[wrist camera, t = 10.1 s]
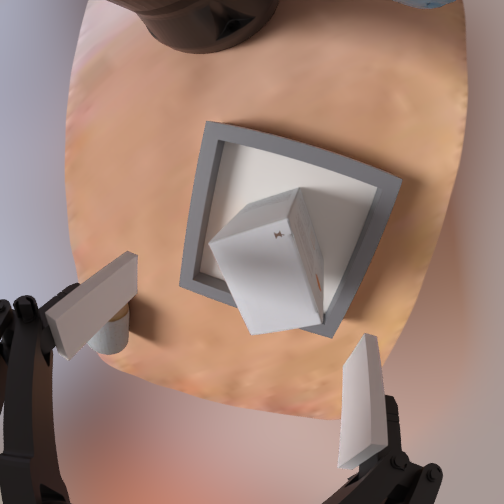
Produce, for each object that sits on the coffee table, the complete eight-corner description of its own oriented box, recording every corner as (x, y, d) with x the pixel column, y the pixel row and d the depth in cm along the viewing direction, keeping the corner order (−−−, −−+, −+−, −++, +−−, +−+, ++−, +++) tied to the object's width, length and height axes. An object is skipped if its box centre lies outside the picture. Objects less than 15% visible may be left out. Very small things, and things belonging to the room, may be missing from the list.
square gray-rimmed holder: (221, 122, 26) (206, 120, 23) (391, 173, 24) (402, 179, 21) (193, 270, 34) (179, 286, 31) (332, 317, 32) (331, 338, 28)
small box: (246, 202, 27) (204, 240, 18) (300, 185, 25) (287, 214, 16) (273, 274, 29) (249, 338, 20) (325, 261, 27) (323, 326, 18)
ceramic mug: (139, 300, 39) (108, 329, 32) (136, 335, 43) (111, 363, 36) (90, 271, 40) (58, 293, 33) (91, 307, 44) (64, 329, 37)
